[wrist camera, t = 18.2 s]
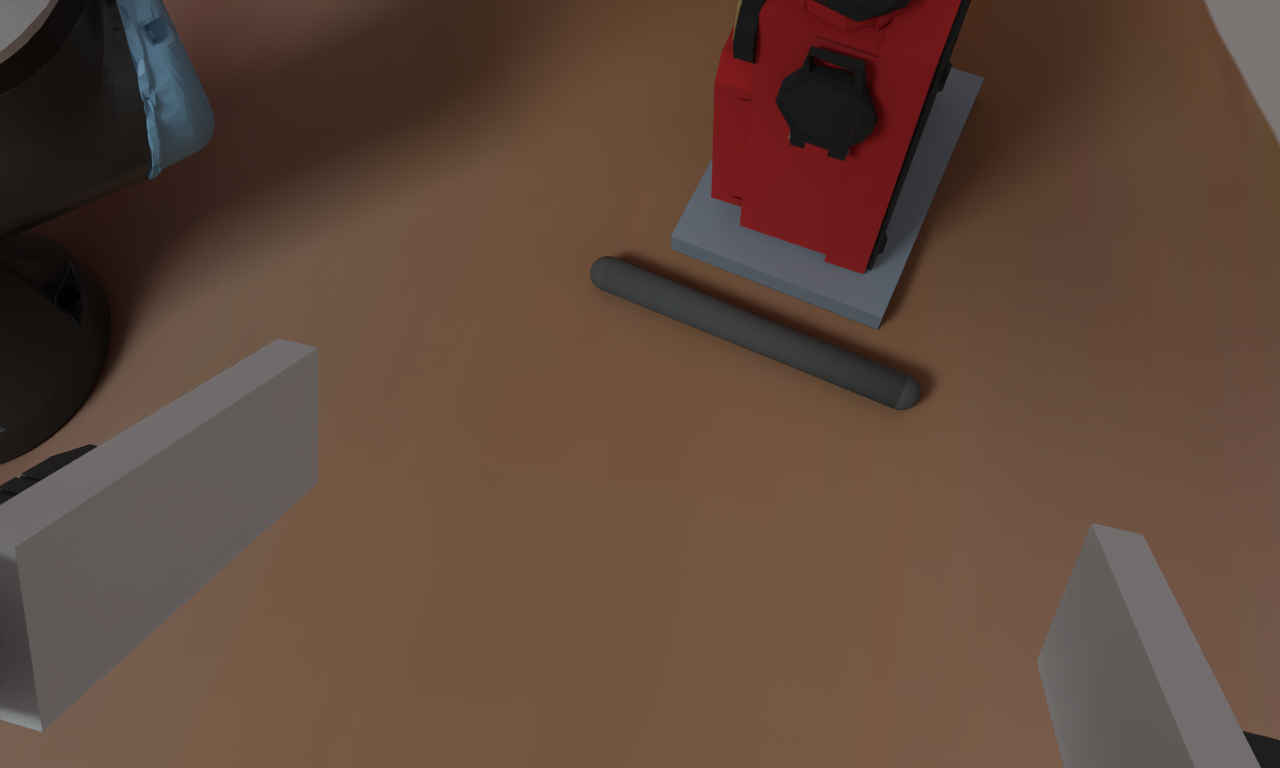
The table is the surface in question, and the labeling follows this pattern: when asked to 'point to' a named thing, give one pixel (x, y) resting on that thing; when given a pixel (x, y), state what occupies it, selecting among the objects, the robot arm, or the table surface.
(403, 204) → the table surface
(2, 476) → the table surface
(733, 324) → the rod
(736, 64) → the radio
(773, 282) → the board
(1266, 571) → the table surface
